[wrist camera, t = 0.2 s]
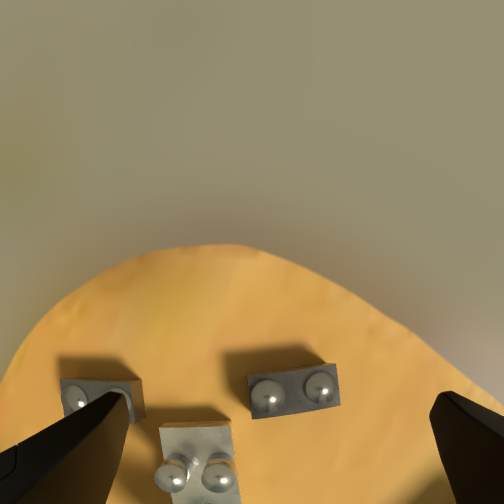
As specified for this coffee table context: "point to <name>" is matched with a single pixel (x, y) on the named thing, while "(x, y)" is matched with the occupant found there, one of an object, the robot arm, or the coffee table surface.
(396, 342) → the coffee table surface
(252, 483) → the coffee table surface
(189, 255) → the coffee table surface
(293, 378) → the grey brick
